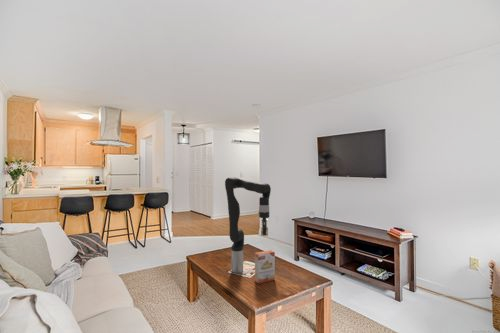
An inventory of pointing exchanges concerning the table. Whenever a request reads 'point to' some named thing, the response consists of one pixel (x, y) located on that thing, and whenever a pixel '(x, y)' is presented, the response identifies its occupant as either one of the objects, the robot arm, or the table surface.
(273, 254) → the cracker box
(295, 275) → the table surface
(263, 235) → the metal block
